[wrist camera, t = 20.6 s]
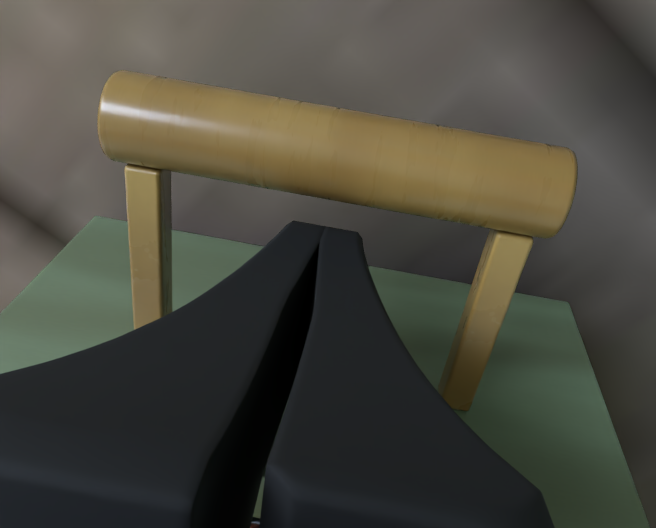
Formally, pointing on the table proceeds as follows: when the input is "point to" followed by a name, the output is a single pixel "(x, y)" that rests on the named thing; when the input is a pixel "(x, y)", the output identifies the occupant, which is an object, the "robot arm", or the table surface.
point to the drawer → (392, 286)
